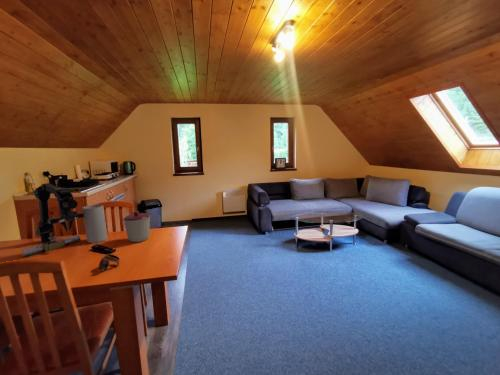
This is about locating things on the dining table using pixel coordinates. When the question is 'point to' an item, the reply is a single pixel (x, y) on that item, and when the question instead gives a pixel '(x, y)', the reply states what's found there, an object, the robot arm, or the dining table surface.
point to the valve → (50, 245)
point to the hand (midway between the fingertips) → (68, 230)
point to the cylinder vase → (95, 223)
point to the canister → (137, 226)
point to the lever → (55, 239)
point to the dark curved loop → (105, 261)
